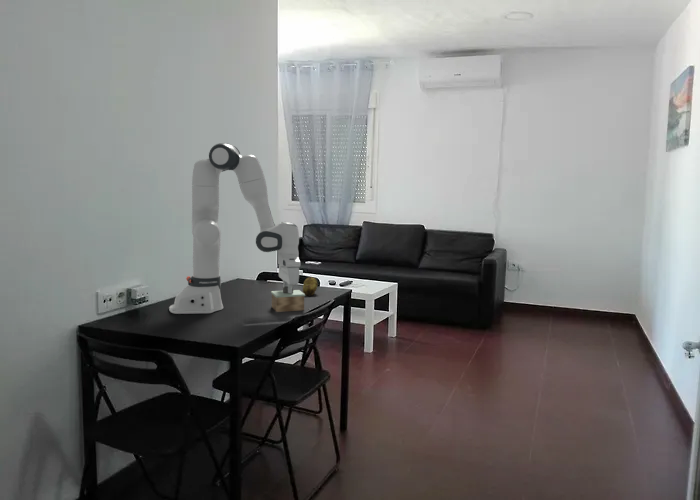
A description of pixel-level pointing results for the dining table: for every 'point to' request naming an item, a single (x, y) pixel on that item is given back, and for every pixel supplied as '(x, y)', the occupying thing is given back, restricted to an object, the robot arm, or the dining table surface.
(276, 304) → the box
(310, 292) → the potato
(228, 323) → the dining table surface
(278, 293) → the lid
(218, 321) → the dining table surface
